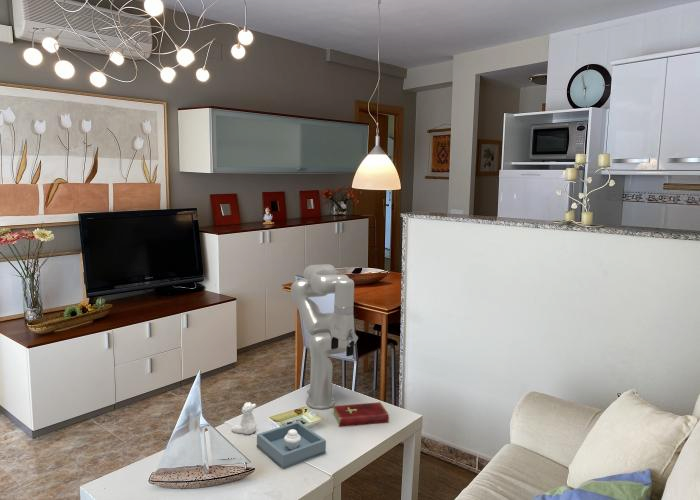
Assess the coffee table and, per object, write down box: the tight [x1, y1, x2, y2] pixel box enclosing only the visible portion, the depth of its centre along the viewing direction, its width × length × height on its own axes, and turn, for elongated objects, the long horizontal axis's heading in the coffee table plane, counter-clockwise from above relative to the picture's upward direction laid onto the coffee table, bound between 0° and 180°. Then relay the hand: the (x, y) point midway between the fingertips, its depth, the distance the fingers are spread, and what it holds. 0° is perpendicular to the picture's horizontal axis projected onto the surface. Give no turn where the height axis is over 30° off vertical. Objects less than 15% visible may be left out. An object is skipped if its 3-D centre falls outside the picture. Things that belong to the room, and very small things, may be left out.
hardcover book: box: [332, 401, 390, 428], centre depth 222 cm, size 12×21×4 cm, turn 105°
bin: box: [256, 421, 327, 470], centre depth 195 cm, size 18×18×5 cm
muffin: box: [284, 429, 301, 450], centre depth 195 cm, size 6×6×7 cm
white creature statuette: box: [230, 401, 258, 435], centre depth 208 cm, size 10×9×12 cm
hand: (342, 351), depth 212 cm, fingers open, 9 cm apart
